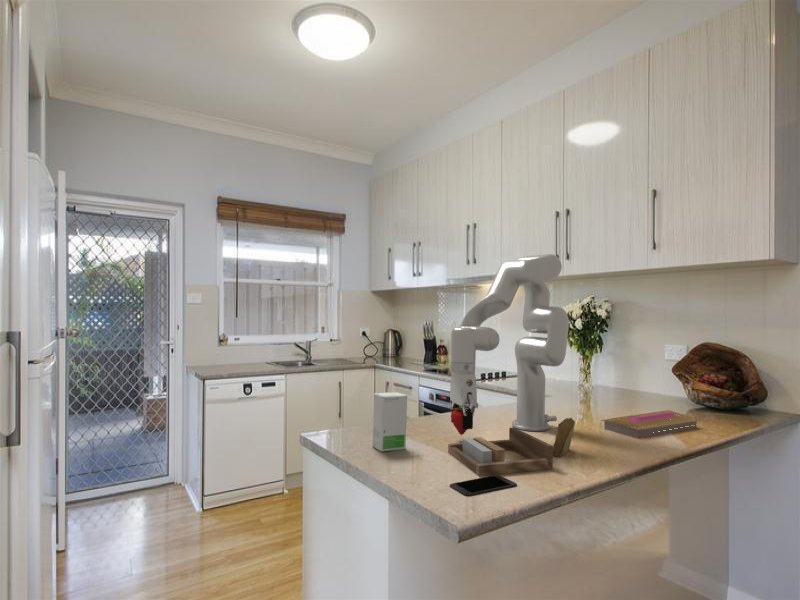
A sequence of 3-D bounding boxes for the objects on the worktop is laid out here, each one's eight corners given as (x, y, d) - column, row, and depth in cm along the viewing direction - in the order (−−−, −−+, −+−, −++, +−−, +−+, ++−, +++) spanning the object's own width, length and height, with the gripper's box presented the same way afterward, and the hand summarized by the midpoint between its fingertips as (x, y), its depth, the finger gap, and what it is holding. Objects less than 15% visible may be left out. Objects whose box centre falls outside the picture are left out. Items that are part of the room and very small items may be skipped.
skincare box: (380, 452, 131) (382, 396, 131) (371, 446, 136) (372, 392, 137) (407, 449, 134) (408, 394, 135) (396, 442, 140) (397, 391, 141)
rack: (513, 447, 138) (513, 427, 138) (552, 469, 120) (552, 445, 120) (448, 452, 132) (448, 431, 132) (478, 476, 114) (479, 451, 114)
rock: (565, 452, 127) (589, 443, 132) (548, 423, 131) (572, 415, 136) (542, 466, 135) (566, 457, 139) (527, 438, 139) (551, 430, 144)
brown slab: (661, 420, 180) (661, 404, 180) (700, 429, 167) (700, 412, 167) (600, 430, 163) (600, 412, 163) (638, 440, 150) (638, 421, 150)
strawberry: (462, 439, 137) (463, 405, 138) (445, 433, 144) (446, 400, 144) (476, 436, 141) (477, 403, 141) (460, 430, 147) (460, 399, 147)
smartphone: (447, 486, 107) (447, 483, 107) (497, 477, 114) (497, 473, 114) (466, 499, 101) (466, 495, 101) (518, 488, 108) (519, 484, 108)
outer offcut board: (470, 456, 130) (470, 438, 130) (491, 470, 118) (491, 450, 118) (462, 456, 129) (462, 438, 129) (482, 471, 118) (482, 451, 118)
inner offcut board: (480, 455, 131) (480, 437, 131) (504, 469, 120) (504, 449, 120) (472, 455, 130) (473, 437, 130) (495, 470, 119) (496, 450, 119)
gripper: (487, 371, 135) (486, 432, 135) (462, 364, 152) (460, 418, 152) (463, 371, 133) (462, 433, 133) (440, 364, 150) (439, 419, 150)
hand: (461, 425), depth 142 cm, fingers closed on strawberry, 7 cm apart
